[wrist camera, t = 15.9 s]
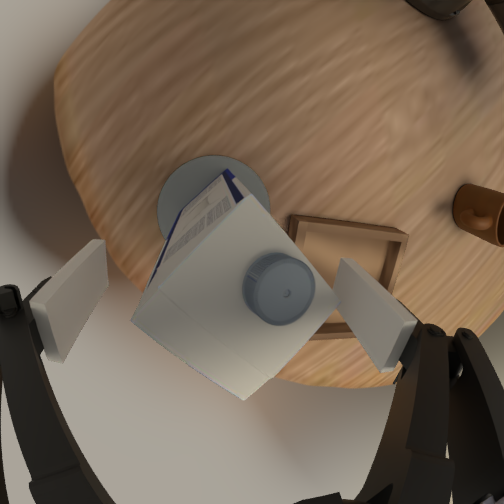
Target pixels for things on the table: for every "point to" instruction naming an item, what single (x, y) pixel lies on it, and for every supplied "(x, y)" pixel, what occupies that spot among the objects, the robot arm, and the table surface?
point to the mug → (480, 213)
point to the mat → (202, 186)
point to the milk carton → (232, 290)
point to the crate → (347, 256)
